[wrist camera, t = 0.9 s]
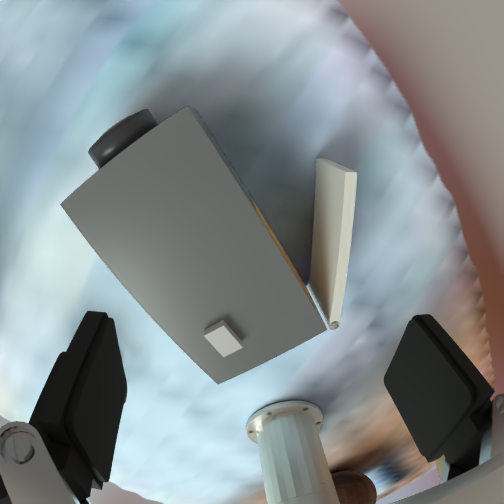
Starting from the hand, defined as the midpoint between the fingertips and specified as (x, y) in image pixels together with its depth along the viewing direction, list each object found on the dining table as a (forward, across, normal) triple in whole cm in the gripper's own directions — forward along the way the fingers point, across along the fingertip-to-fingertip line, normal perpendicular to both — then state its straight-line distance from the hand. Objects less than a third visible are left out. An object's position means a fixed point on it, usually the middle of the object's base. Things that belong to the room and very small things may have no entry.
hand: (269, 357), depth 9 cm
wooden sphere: (+22, -28, +63) cm, 73 cm away
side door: (+22, -9, +4) cm, 25 cm away
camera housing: (+23, +3, +4) cm, 23 cm away
